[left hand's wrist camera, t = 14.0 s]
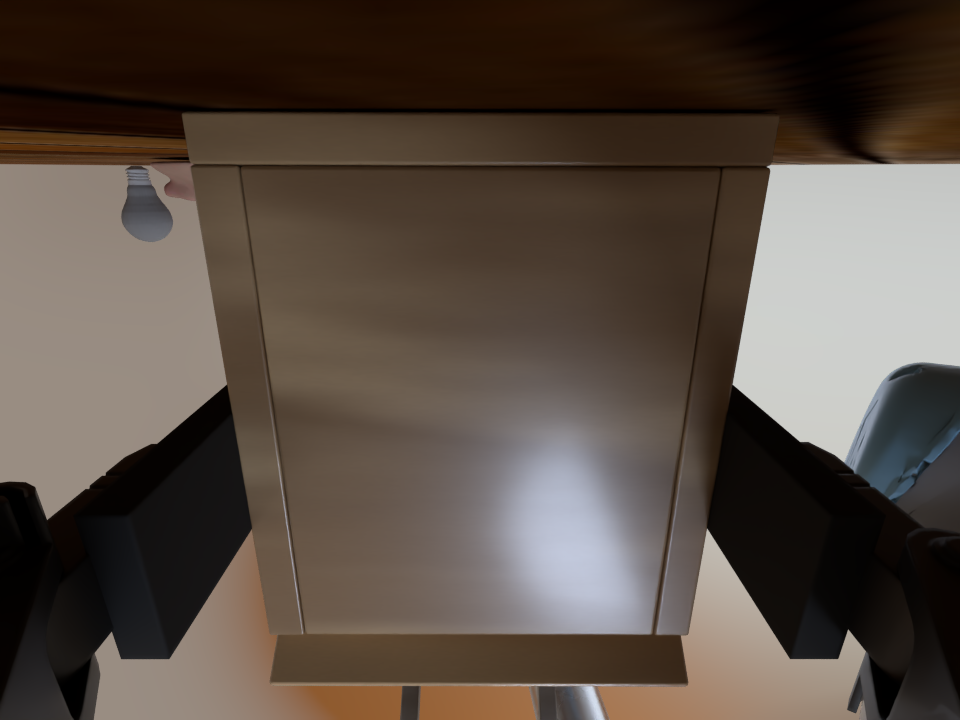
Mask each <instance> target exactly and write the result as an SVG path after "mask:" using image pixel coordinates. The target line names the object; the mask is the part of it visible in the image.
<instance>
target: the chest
mask: <svg viewBox="0 0 960 720" xmlns="http://www.w3.org/2000/svg"><path fill="white" fill-rule="evenodd" d="M779 118H780V117H779V115H778V114H776V113H606V112H311V111H185V112H183V113H182V119H183V125H184V131H185V136H186V142H187V148H188V154H189V160H190V162H191V163H192V164H194V165H192V166H191V168H190V169H191V175H192V181H193V187H194V192H195V198H196V204H197V210H198V216H199V221H200V228H201V233H202V239H203V245H204V251H205V257H206V263H207V269H208V275H209V280H210V286H211V292H212V298H213V304H214V310H215V316H216V321H217V327H218V333H219V339H220V345H221V351H222V357H223V362H224V368H225V374H226V380H227V386H228V392H229V398H230V403H231V409H232V415H233V421H234V426H235V432H236V438H237V444H238V450H239V455H240V461H241V467H242V473H243V478H244V484H245V490H246V496H247V501H248V507H249V513H250V519H251V525H252V532H253V538H254V544H255V550H256V556H257V562H258V568H259V573H260V579H261V585H262V591H263V597H264V602H265V609H266V614H267V620H268V626H269V632H270V634H271V635H303V634H304V633H305V632H306V633H307V634H461V635H651V634H652V633H654V634H655V635H688V633H689V627H690V621H691V616H692V610H693V604H694V599H695V593H696V587H697V582H698V576H699V570H700V565H701V559H702V554H703V548H704V542H705V537H706V531H707V525H708V520H709V514H710V508H711V503H712V497H713V491H714V486H715V480H716V474H717V469H718V463H719V457H720V452H721V446H722V440H723V434H724V429H725V423H726V417H727V412H728V407H729V401H730V395H731V390H732V384H733V378H734V373H735V367H736V361H737V356H738V350H739V345H740V339H741V333H742V327H743V322H744V316H745V311H746V305H747V299H748V294H749V288H750V282H751V277H752V271H753V265H754V260H755V254H756V249H757V243H758V237H759V232H760V226H761V220H762V215H763V209H764V203H765V198H766V192H767V186H768V181H769V175H770V169H769V168H767V166H769V165H771V163H772V158H773V152H774V147H775V141H776V135H777V130H778V124H779Z"/></svg>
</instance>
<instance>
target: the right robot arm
mask: <svg viewBox="0 0 960 720" xmlns="http://www.w3.org/2000/svg"><path fill="white" fill-rule="evenodd" d="M529 689H530V694H531V698H532V703H533V707H534V711H535V716H536V720H538V696H537V686H529ZM555 690H556V707H557V720H610V719H609V717H608V714H607V711H606V708H605V706H604V703H603V701H602V698H601V695H600V693H599V690H598V687H597V686H555Z"/></svg>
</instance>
